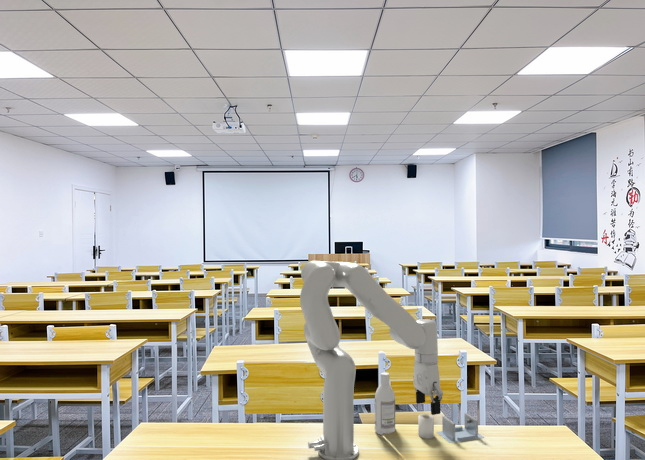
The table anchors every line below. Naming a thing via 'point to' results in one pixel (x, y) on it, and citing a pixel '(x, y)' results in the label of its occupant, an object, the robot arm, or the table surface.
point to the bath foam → (384, 407)
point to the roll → (426, 426)
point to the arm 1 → (448, 428)
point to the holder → (460, 435)
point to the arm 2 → (471, 425)
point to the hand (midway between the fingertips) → (428, 408)
